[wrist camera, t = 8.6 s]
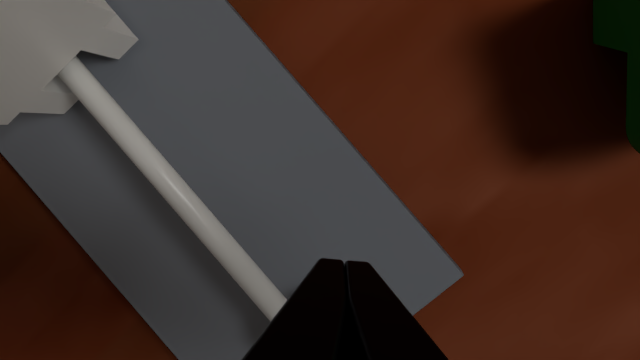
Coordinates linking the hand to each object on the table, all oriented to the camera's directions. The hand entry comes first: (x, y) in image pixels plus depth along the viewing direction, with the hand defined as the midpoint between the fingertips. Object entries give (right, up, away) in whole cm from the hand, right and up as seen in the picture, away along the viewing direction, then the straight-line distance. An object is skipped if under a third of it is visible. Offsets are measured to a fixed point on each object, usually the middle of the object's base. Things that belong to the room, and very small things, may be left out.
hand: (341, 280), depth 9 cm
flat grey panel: (-7, +4, +15) cm, 17 cm away
